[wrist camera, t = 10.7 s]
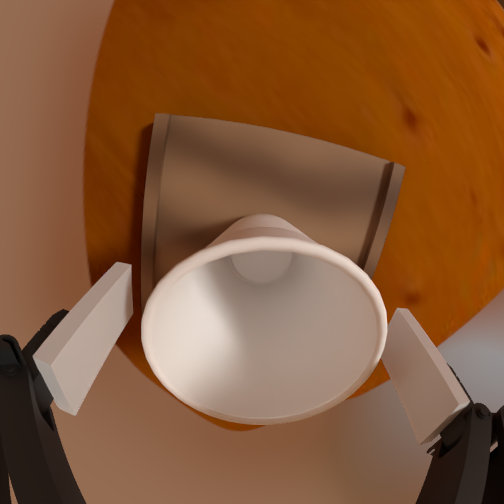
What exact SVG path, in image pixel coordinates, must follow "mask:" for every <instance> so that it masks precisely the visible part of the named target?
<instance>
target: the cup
mask: <svg viewBox="0 0 504 504" xmlns="http://www.w3.org/2000/svg"><path fill="white" fill-rule="evenodd" d="M386 336H387V315H386V309H385V306H384V304H383V301H382V298H381V295H380V292H379V291H378V289H377V288H376V286H375V285H374V283H373V282H372V281H371V279H370V278H369V276H368V275H367V274H366V273H365V272H364V271H363V270H362V269H361V268H359V267H358V266H357V265H356V264H355V263H353V262H352V261H351V260H350V259H349V258H347V257H345V256H343V255H341V254H339V253H337V252H335V251H334V250H332V249H330V248H328V247H326V246H324V245H320V244H318V243H316V242H315V241H314V240H312V239H311V238H309V237H308V236H306V235H305V234H304V233H302V232H301V231H300V230H298V229H297V228H295V227H294V226H293V225H291V224H290V223H289V222H287V221H286V220H284V219H282V218H280V217H278V216H274V215H270V214H255V215H250V216H247V217H244V218H242V219H240V220H238V221H237V222H235V223H234V224H233V225H231V226H230V227H229V228H228V229H227V230H226V231H225V232H223V233H222V234H221V235H220V236H219V237H218V238H216V239H215V240H214V241H213V242H212V243H211V244H209V245H208V246H207V247H206V248H205V249H202V250H200V251H198V252H196V253H195V254H193V255H191V256H190V257H188V258H186V259H185V260H183V261H181V262H180V263H178V264H176V265H175V266H174V267H173V268H172V269H171V270H170V271H169V272H168V273H167V274H166V275H165V276H164V277H163V278H162V279H161V280H160V281H159V282H158V284H157V285H156V287H155V288H154V290H153V292H152V293H151V295H150V297H149V298H148V300H147V303H146V306H145V310H144V313H143V317H142V320H141V340H142V345H143V349H144V353H145V356H146V359H147V361H148V363H149V365H150V367H151V369H152V371H153V372H154V374H155V375H156V376H157V378H158V379H159V380H160V381H161V383H162V384H163V385H164V386H165V387H166V388H167V389H168V390H169V391H170V392H171V393H172V394H173V395H175V396H176V397H177V398H178V399H179V400H181V401H183V402H184V403H186V404H187V405H189V406H191V407H192V408H194V409H196V410H198V411H200V412H203V413H205V414H207V415H210V416H212V417H216V418H219V419H223V420H226V421H230V422H236V423H243V424H255V425H270V424H280V423H288V422H293V421H297V420H301V419H305V418H308V417H311V416H314V415H316V414H319V413H322V412H324V411H326V410H328V409H330V408H332V407H334V406H335V405H337V404H339V403H340V402H342V401H343V400H345V399H346V398H347V397H349V396H350V395H352V394H353V393H354V392H355V391H356V390H357V389H358V388H359V387H360V386H361V385H362V384H363V383H364V382H365V381H366V380H367V379H368V377H369V376H370V374H371V373H372V372H373V370H374V369H375V367H376V366H377V364H378V362H379V359H380V357H381V355H382V352H383V350H384V347H385V342H386Z"/></svg>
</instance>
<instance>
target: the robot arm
mask: <svg viewBox="0 0 504 504" xmlns="http://www.w3.org/2000/svg"><path fill="white" fill-rule="evenodd" d="M132 314H133V300H132V275H131V265H130V264H126V263H121V262H116V263H115V264H114V265H113V266H112V267H111V268H110V269H109V270H108V271H107V272H106V273H105V274H104V275H103V276H102V277H101V278H100V279H99V280H98V281H97V282H96V283H95V285H94V286H93V287H92V288H91V289H90V290H89V291H88V292H87V293H86V294H85V295H84V296H83V297H82V298H81V300H80V301H79V302H78V303H77V304H76V305H75V306H74V307H73V308H72V309H71V311H67V310H64V309H63V310H61V311H59V312H57V313H55V314H54V315H52V316H51V318H50V319H49V320H48V321H47V322H46V324H44V325H43V326H42V328H41V329H40V331H38V332H37V333H36V334H35V335H34V337H33V338H32V339H31V340H30V341H29V342H28V344H27V345H26V346H25V347H24V348H23V350H22V351H21V348H20V346H19V343H18V341H17V340H16V339H15V338H14V337H13V336H10V335H0V504H11V496H10V487H9V476H10V480H11V483H12V487H13V490H14V493H15V496H16V499H17V502H18V504H86V502H85V500H84V498H83V496H82V494H81V492H80V489H79V487H78V485H77V483H76V481H75V478H74V476H73V474H72V471H71V468H70V466H69V463H68V461H67V458H66V455H65V453H64V450H63V447H62V444H61V441H60V438H59V434H58V431H57V427H56V424H55V420H54V416H53V412H52V409H51V407H50V404H51V403H52V401H53V399H54V401H55V403H56V404H57V406H58V408H59V409H61V410H64V411H66V412H68V413H70V414H72V415H75V416H76V414H77V412H78V410H79V408H80V406H81V404H82V402H83V400H84V398H85V396H86V394H87V392H88V391H89V389H90V387H91V385H92V383H93V381H94V379H95V378H96V376H97V374H98V372H99V370H100V369H101V367H102V365H103V363H104V361H105V359H106V358H107V356H108V354H109V353H110V351H111V349H112V347H113V346H114V344H115V342H116V341H117V339H118V337H119V336H120V334H121V332H122V331H123V329H124V327H125V326H126V324H127V322H128V321H129V319H130V318H131V316H132ZM381 359H382V361H383V363H384V365H385V367H386V370H387V372H388V374H389V376H390V378H391V380H392V382H393V385H394V387H395V389H396V391H397V394H398V396H399V398H400V400H401V403H402V405H403V407H404V410H405V412H406V415H407V417H408V419H409V422H410V424H411V426H412V429H413V432H414V434H415V437H416V439H417V442H418V444H419V445H420V444H424V443H428V442H431V441H432V440H433V439H434V438H435V437H436V436H437V435H438V434H440V436H441V439H440V440H438V441H437V442H436V443H435V444H434V445H433V446H432V447H430V448H429V449H428V451H427V453H429V452H430V451H431V450H433V449H435V451H434V452H432V453H431V455H432V456H433V458H432V461H431V464H430V467H429V470H428V473H427V476H426V479H425V481H424V484H423V487H422V489H421V492H420V494H419V497H418V499H417V502H416V504H504V406H502V407H501V408H500V409H499V410H498V411H497V413H491V412H490V410H489V409H488V408H487V407H486V406H485V405H484V404H481V403H476V404H474V403H473V401H472V400H471V398H470V396H469V395H468V393H467V391H466V390H465V388H464V386H463V385H462V383H461V382H460V380H459V378H458V377H457V376H456V374H455V372H454V371H453V369H452V368H451V367H450V366H449V365H448V364H447V363H446V362H445V360H444V359H443V357H442V356H441V354H440V353H439V351H438V350H437V348H436V347H435V346H434V344H433V343H432V341H431V340H430V338H429V337H428V336H427V334H426V333H425V331H424V330H423V329H422V327H421V326H420V325H419V323H418V322H417V320H416V319H415V318H414V316H413V315H412V314H411V312H410V311H409V310H408V309H403V308H397V309H396V311H395V313H394V315H393V317H392V319H391V321H390V323H389V325H388V327H387V336H386V342H385V347H384V350H383V352H382V355H381ZM496 442H498V446H497V447H496V448H495V449H494V450H493V451H492V452H490V447H491V446H492V445H493V444H495V443H496ZM8 473H9V474H8Z"/></svg>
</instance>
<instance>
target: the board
mask: <svg viewBox="0 0 504 504" xmlns="http://www.w3.org/2000/svg"><path fill="white" fill-rule="evenodd" d="M404 170H405V166H402V165H400V164H397V163H394V162H389V161H387V160H384V159H381V158H378V157H375V156H372V155H369V154H366V153H363V152H360V151H357V150H354V149H350V148H347V147H344V146H340V145H337V144H333V143H330V142H326V141H322V140H319V139H315V138H311V137H307V136H303V135H298V134H294V133H290V132H285V131H281V130H276V129H271V128H266V127H260V126H255V125H249V124H243V123H237V122H230V121H223V120H216V119H208V118H199V117H189V116H178V115H170V114H160V113H155V119H154V125H153V131H152V137H151V144H150V151H149V158H148V166H147V175H146V184H145V195H144V207H143V222H142V244H141V308H142V317H143V313H144V310H145V306H146V303H147V300H148V298H149V297H150V295H151V293H152V292H153V290H154V288H155V287H156V285H157V284H158V282H159V281H160V280H161V279H162V278H163V277H164V276H165V275H166V274H167V273H168V272H169V271H170V270H171V269H172V268H173V267H174V266H175V265H176V264H178V263H180V262H181V261H183V260H185V259H186V258H188V257H190V256H191V255H193V254H195V253H196V252H198V251H200V250H202V249H205V248H206V247H207V246H208V245H209V244H211V243H212V242H213V241H214V240H215V239H216V238H218V237H219V236H220V235H221V234H222V233H223V232H225V231H226V230H227V229H228V228H229V227H230V226H231V225H233V224H234V223H235V222H237V221H238V220H240V219H242V218H244V217H247V216H250V215H255V214H270V215H274V216H278V217H280V218H282V219H284V220H286V221H287V222H289V223H290V224H291V225H293V226H294V227H295V228H297V229H298V230H300V231H301V232H302V233H304V234H305V235H306V236H308V237H309V238H311V239H312V240H314V241H315V242H316V243H318V244H320V245H324V246H326V247H328V248H330V249H332V250H334V251H335V252H337V253H339V254H341V255H343V256H345V257H347V258H349V259H350V260H351V261H352V262H353V263H355V264H356V265H357V266H358V267H359V268H361V269H362V270H363V271H364V272H365V273H366V274H367V275H368V276H369V278H370V279H372V277H373V274H374V271H375V269H376V266H377V263H378V260H379V257H380V255H381V252H382V249H383V246H384V243H385V240H386V236H387V233H388V230H389V227H390V224H391V220H392V217H393V213H394V210H395V206H396V203H397V199H398V195H399V191H400V187H401V183H402V179H403V175H404Z"/></svg>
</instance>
